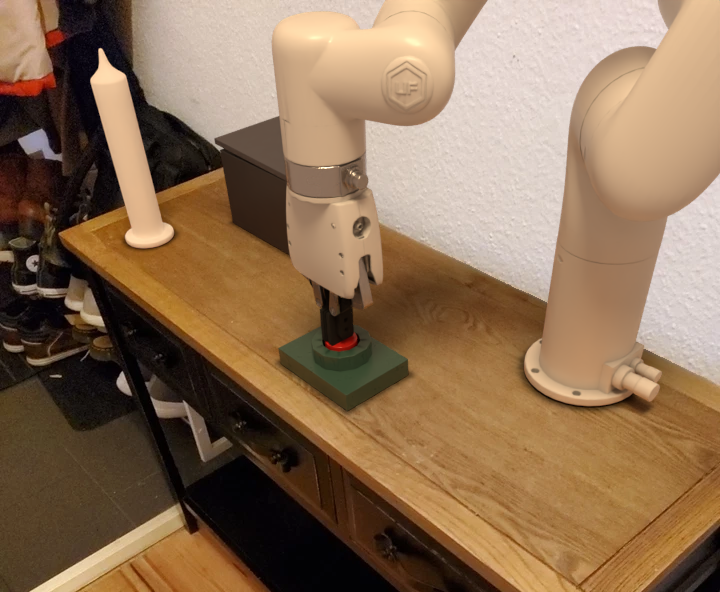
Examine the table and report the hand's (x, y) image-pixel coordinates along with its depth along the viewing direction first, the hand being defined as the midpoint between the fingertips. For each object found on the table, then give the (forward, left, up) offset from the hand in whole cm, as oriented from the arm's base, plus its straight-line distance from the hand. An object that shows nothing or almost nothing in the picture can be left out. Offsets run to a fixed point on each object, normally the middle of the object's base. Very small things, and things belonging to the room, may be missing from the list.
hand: (338, 337), depth 81 cm
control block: (0, 0, -4) cm, 4 cm away
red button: (0, 0, -2) cm, 2 cm away
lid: (+32, -18, +7) cm, 37 cm away
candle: (+45, -1, -5) cm, 45 cm away
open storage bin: (+32, -18, -4) cm, 37 cm away
